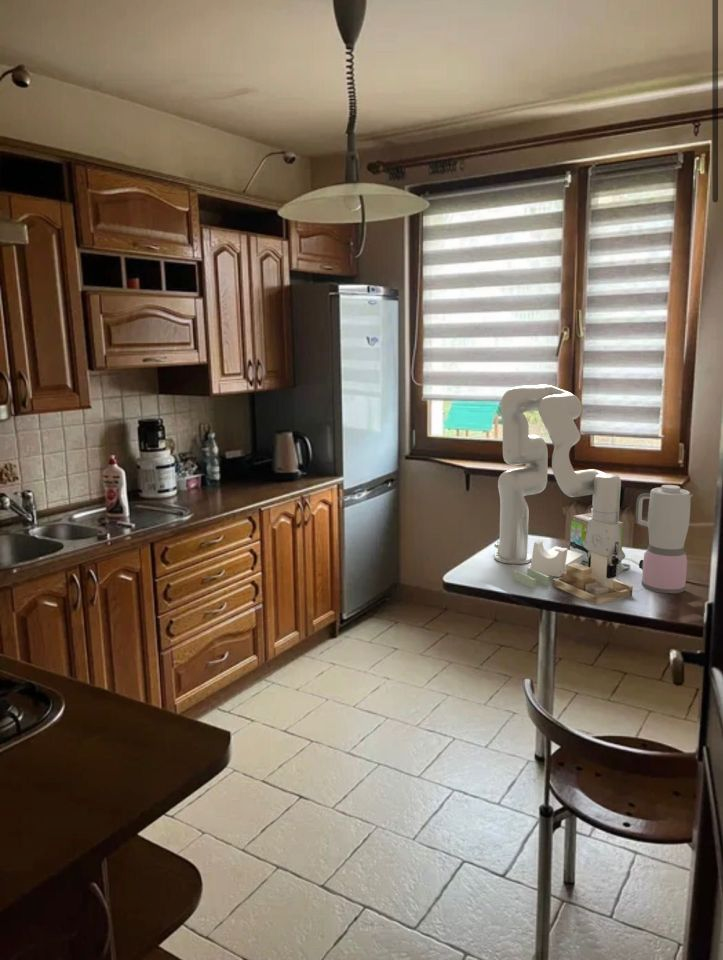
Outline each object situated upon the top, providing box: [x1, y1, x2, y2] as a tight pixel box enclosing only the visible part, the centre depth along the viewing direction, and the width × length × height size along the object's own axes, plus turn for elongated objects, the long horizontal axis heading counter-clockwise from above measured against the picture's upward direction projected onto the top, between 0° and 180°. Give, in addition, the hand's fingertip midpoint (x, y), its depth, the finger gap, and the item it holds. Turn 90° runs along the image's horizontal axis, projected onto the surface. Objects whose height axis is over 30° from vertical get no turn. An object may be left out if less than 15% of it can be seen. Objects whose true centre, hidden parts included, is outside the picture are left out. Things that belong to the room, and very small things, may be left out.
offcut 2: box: [561, 572, 595, 591], centre depth 213 cm, size 9×4×4 cm, turn 27°
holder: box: [513, 567, 550, 590], centre depth 219 cm, size 10×8×4 cm
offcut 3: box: [585, 583, 608, 596], centre depth 206 cm, size 5×4×4 cm
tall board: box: [590, 552, 614, 588], centre depth 212 cm, size 6×3×15 cm, turn 27°
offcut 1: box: [566, 563, 592, 580], centre depth 213 cm, size 6×4×3 cm, turn 35°
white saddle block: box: [530, 540, 583, 578], centre depth 233 cm, size 18×10×10 cm, turn 141°
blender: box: [635, 484, 694, 594], centre depth 213 cm, size 16×12×32 cm
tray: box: [552, 576, 634, 605], centre depth 212 cm, size 18×14×4 cm
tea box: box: [569, 512, 624, 565], centre depth 243 cm, size 15×10×15 cm, turn 25°
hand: (601, 573), depth 213 cm, fingers open, 6 cm apart
